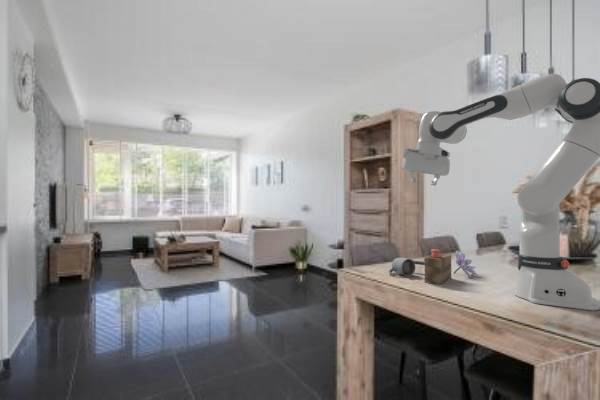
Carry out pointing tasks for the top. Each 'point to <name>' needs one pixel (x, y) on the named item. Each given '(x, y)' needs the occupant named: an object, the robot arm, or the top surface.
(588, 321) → the top surface
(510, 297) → the top surface
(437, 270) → the brown rectangular block
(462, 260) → the water lily
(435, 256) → the gauge button
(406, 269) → the ceramic mug
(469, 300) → the top surface
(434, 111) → the robot arm
